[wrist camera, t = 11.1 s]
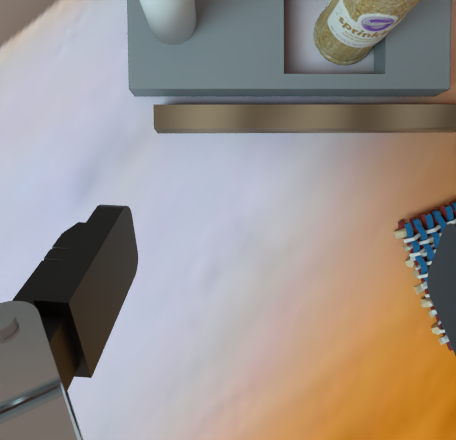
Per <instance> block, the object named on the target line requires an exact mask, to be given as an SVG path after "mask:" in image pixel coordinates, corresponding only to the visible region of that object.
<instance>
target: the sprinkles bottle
mask: <svg viewBox="0 0 456 440" xmlns="http://www.w3.org/2000/svg"><path fill="white" fill-rule="evenodd" d="M419 1H420V0H329V1H328V4H327V7H326V9H325V10H324V11H323V12H322V13H321V14H320V16H319V18H318V20H317V21H316V24H315V28H314V41H315V44H316V47H317V48H318V50H319V52H320V53H321V54H322V55H323V57H324V58H325V59H327V60H328V61H331V62H333V63H335V64H338V65H349V64H353V63H356V62H358V61H360V60H361V59H363V58H364V57H365V56H366V55H367V54H368V53H369V51H370V50H371V48H372V47H373V46H374V45H375V44H376V43H378V42H379V41H380V40H381V39H383V38H384V37H385V36H386V35H387V34H388V33H389V32H390V31H391V30H392V29H393V28H394V27H395V26H396V25H397V24H398V23H399V22H400V21H401V20H402V19H403V18H404V17H405V16H406V14H407V13H408V12H409V11H410V10H411V9H412V8H413V7H414V6H415V5H416V4H417V3H418V2H419Z"/></svg>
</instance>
